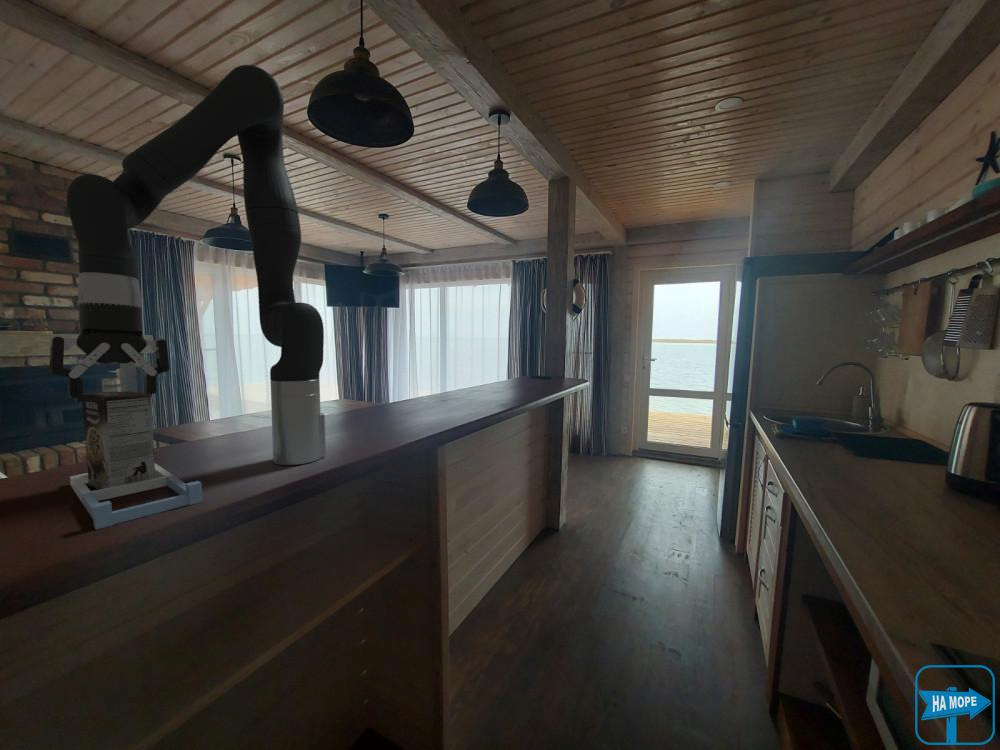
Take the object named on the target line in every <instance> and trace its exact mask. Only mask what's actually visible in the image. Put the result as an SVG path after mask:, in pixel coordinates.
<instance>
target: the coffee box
mask: <svg viewBox="0 0 1000 750" xmlns="http://www.w3.org/2000/svg"><path fill="white" fill-rule="evenodd" d="M81 403H82V415H83V426H84V437H85V439H84V440H85V450H86V451H85V452H86V453H85V456H86V464H87V473H88V479H89V483H88V486H91V487H92V488H95V489H96V490H100V489H105V488H109V487H114V486H119V485H124V484H129V483H134V482H139V481H144V480H149V479H154V478H156V477H155V465H154V463H155V448H154V447H155V446H154V445H155V444H154V425H153V422H154V421H153V405H152V404H153V402H152V397H151V394H145V393H144V392H143V393H142V392H137V391H130V390H124V391H99V392H88V393H83V402H81Z"/></svg>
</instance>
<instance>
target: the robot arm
mask: <svg viewBox="0 0 1000 750" xmlns="http://www.w3.org/2000/svg"><path fill="white" fill-rule="evenodd" d="M284 110H285V103H284V96H283V92H282V89H281V87H280V85H279V83H278V81H277V80H276V79H275V78H274V77H273V75H271V73H268V71H266V70H265V69H262V68H261V67H258V66H256V65H254V64H253V65H252V64H241V65H239V66H236V67H234V68H233V69H232V70H230V72H228V74H227V75H226V76H224V78H223V79H222V80H221V81H220V82H219V83H218V84H217V85H216V86H215V87H214V88H213V90H211V91H210V93H209V94H208V95H207V96H205V98H204V99H202V100H201V101H200V102H199V103H197V105H195V106H194V107H193V108H192V109H191V110H190V111H189V112H187V113H186V114H185V115H184V116H183V117H181V118H180V119H179V120H177V121H176V122H175V123H174V124H172V125H171V126H170V127H168V128H166V129H165V130H163V131H162V132H161V133H159V134H157V135H156V136H154V137H153V138H151V139H150V140H148V141H147V142H145V143H143V144H142V145H141V146H139V147H138V148H136V149H134V150H133V151H132V152H130V153H129V154H127V155H126V156H125V157H124V158H123V159H122V163H121V165H122V172H121V173H120V174H119V175H118V176H117V177H116V178H115V179H114V180H111V179H109V178H107V177H104V176H103V175H99V174H89V173H88V174H80V175H79V176H76V177H75V178H74V179H73V180H71V182H70V183H69V185H68V188H67V190H66V207H67V210H68V213H69V214H68V215H69V218H70V222H71V226H72V230H73V233H74V235H75V238H76V241H77V244H78V245H77V246H78V272H79V273H78V283H77V297H78V298H77V302H78V303H77V304H78V320H79V335H78V336H77V338H71V337H70V338H69V337H62V336H53V337H51V338H50V349H49V351H50V352H49V370H48V371H49V373H50V374H53V375H55V376H61V377H64V378H66V379H67V388H68V389H67V390H68V391H67V392H68V394H67V395H68V396H69V398H70V399H74V401H75V402H76V403H79V402H80V403H82V402H83V394H84V390H83V387H84V386H83V379H82V378H81V375H83V373H85V371H87V369H89V368H90V367H92V365H93V364H94V363H98V364H103V365H105V364H113V363H114V364H115V363H116V364H129V363H132V364H133V365H134V366H135V367H137V368H138V369H139V370H141V372H142V373H143V374H144V375H143V379H142V380H143V393H145V394H151V398H152V397H153V395H154V394H156V393H157V390H158V389H157V387H158V386H157V376H158V375H160V374H163V373H168V372H169V371H170V361H169V353H168V346H167V341H166V340H165V339H164V338H161V339H152V340H151V339H150V340H149V339H148V340H146V339H145V338H144V335H143V316H142V315H143V314H142V305H143V300H142V295H141V294H142V293H141V288H140V283H139V263H138V255H137V252H136V249H135V248H134V247H133V245H132V244H131V241H130V237H129V230H131V229H134V228H135V227H138V226H139V225H140V224H143V222H144V221H145V220H146V219H148V218H149V217H150V215H151V214H152V213H153V212H154V211H155V210H156V209H157V208H158V206H160V204H161V202H162V201H163V200H164V199H165V198H166V197H167V196H168V195H169V194H172V193H173V192H174V191H175V190H177V189H178V188H180V187H181V186H182V185H184V184H186V182H188V181H189V180H191V179H192V178H193V177H194V176H196V175H197V174H198V173H200V172H201V171H202V169H203V168H205V166H206V165H208V164H209V162H210V161H211V160H212V159H213V157H214V156H215V155H216V154H217V153H218V151H220V149H221V148H222V147H223V146H225V144H226V143H228V142H229V141H230V140H232V139H233V138H234V137H235V136H237V140H238V144H239V148H240V151H241V157H242V158H241V159H242V165H243V173H242V175H243V177H242V179H243V182H242V183H243V184H242V185H243V200H244V201H243V202H244V210H245V215H246V216H245V217H246V222H247V227H248V232H249V237H250V241H251V248H252V255H253V263H254V267H255V268H254V269H255V273H256V280H257V294H258V313H259V315H258V316H259V324H260V329H261V332H262V335H263V336H264V337H265V339H266V340H267V342H268V343H270V344H271V345H273V346H275V347H278V348H281V349H280V350H281V352H280V357H279V360H278V361H277V362H276V363H275V364H273V365H272V366H271V367H270V371H269V379H270V381H269V382H270V403H271V406H270V407H271V430H272V431H271V432H272V433H271V434H272V435H271V436H272V455H273V456H272V461H273V463H274V464H275V465H280V466H295V465H303V464H309V463H312V462H315V461H318V460H319V459H322V458H325V457H326V456H327V455H326V453H327V450H326V448H327V447H326V416H325V413H324V412H321V390H320V388H321V387H320V385H321V384H320V374H321V373H320V372H321V369H322V367H323V363H324V345H325V343H324V342H325V341H324V339H325V335H324V333H325V331H324V330H325V329H324V322H323V318H322V316H321V314H320V312H319V311H318V309H317V308H316V307H315V306H313V305H311V304H309V303H306V302H296V299H295V298H296V296H295V291H294V272H295V268H296V265H297V261H298V258H299V254H300V249H301V245H302V231H301V223H300V217H299V216H300V215H299V211H298V206H297V202H296V197H295V192H294V191H293V190H294V189H293V187H292V183H291V180H290V178H289V176H288V173H287V169H286V165H285V159H284V158H285V157H284V145H283V123H284V122H283V121H284ZM75 345H76V346H77V347H78V348H79V349H80V350H81V351H82V352H83V353H85V354H84V355H83V356H82V357H81V358H80V359H79V360H78V361H77V362H76V363H75V364H74V365H73V366H72V367H71V368H69V369H68V368H64V355H65V352H68V351H70V350H71V348H72V346H75ZM147 347H149V349H150V351H151V352H154V353H155V359H156V360H155V361H156V366H154V367H153V366H152V365H151V364H150V363H149V361H148V360H146V359H145V357H143V356H142V355H141V353H142V351H144V349H146V348H147Z"/></svg>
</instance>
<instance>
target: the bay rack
mask: <svg viewBox="0 0 1000 750" xmlns="http://www.w3.org/2000/svg"><path fill="white" fill-rule="evenodd" d="M154 465H155V478H154V479H149V480H144V481H139V482H134V483H129V484H124V485H119V486H114V487H109V488H105V489H100V490H99V489H95V490H90V488H88V486H87V485H86V484H89V479H88V472H86V473H81V474H75V475H70V476H69V485H70V487H71V488H72V490H73V491H74V493H75V494H76V496H77V497H78V499H79V501H80V502H81V503H82V505H83V507H84V508H85V509H86V511H87V512H88V514H89V515H90V517H91V518H92V521H93V528H95V530H100V529H103V528H108V527H111V526H113V525H116V524H121V523H124V522H128V521H132V520H136V519H138V518H139V519H140V518H142V517H143V518H144V517H147V516H151V515H154V514H158V513H162V512H166V511H171V510H173V509H177V508H182V507H186V506H191V505H195V504H199V503H203V485H202V482H201V481H199V480H196V481H191V482H188V483H185V482H184V481H183V480H181V479H180V478H178V477H176V476H175V475H173V474H172V473H170V472H169V471H167V470H166V469H164V468H163V467H161V466H160V465H159V464H157V463H156V462H154ZM164 487H168V488H169V489H171V490H172V491H174V492H175V494H177V495H175V496H171V497H167V498H163V499H159V500H155V501H150V502H147V503H143V504H138V505H133V506H130V507H126V508H122V509H117V510H116V509H115V510H113V509H112V508H113V506H112V505H113V504H112V502H111V501H110V499H114V498H118V497H122V496H127V495H130V494H131V495H132V494H136V493H141V492H145V491H150V490H155V489H159V488H164ZM104 500H105V501H104ZM100 501H102V502H100Z"/></svg>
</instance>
